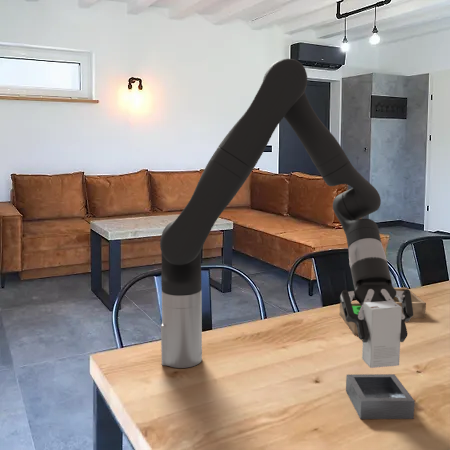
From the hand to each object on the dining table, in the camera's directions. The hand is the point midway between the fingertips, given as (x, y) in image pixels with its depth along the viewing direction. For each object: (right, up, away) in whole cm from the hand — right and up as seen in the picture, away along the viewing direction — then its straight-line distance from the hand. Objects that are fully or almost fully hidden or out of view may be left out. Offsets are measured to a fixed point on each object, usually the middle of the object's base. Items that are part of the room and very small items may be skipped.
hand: (384, 340), depth 97 cm
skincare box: (0, -5, +3) cm, 6 cm away
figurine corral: (+22, -4, +61) cm, 65 cm away
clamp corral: (+9, -6, +48) cm, 50 cm away
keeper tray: (0, -13, +4) cm, 14 cm away
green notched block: (+7, -6, +49) cm, 50 cm away
